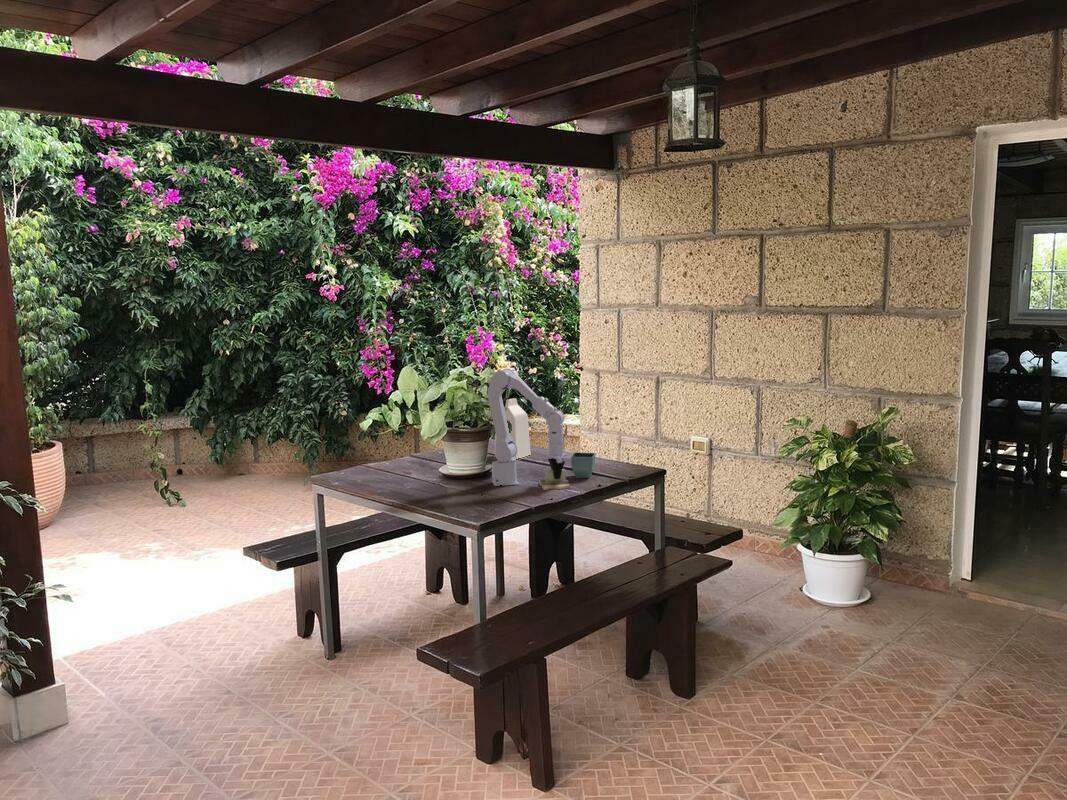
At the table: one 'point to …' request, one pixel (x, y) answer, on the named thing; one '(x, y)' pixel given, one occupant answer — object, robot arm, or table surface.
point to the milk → (518, 427)
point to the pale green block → (551, 476)
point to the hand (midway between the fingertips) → (556, 477)
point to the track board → (554, 484)
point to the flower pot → (583, 464)
